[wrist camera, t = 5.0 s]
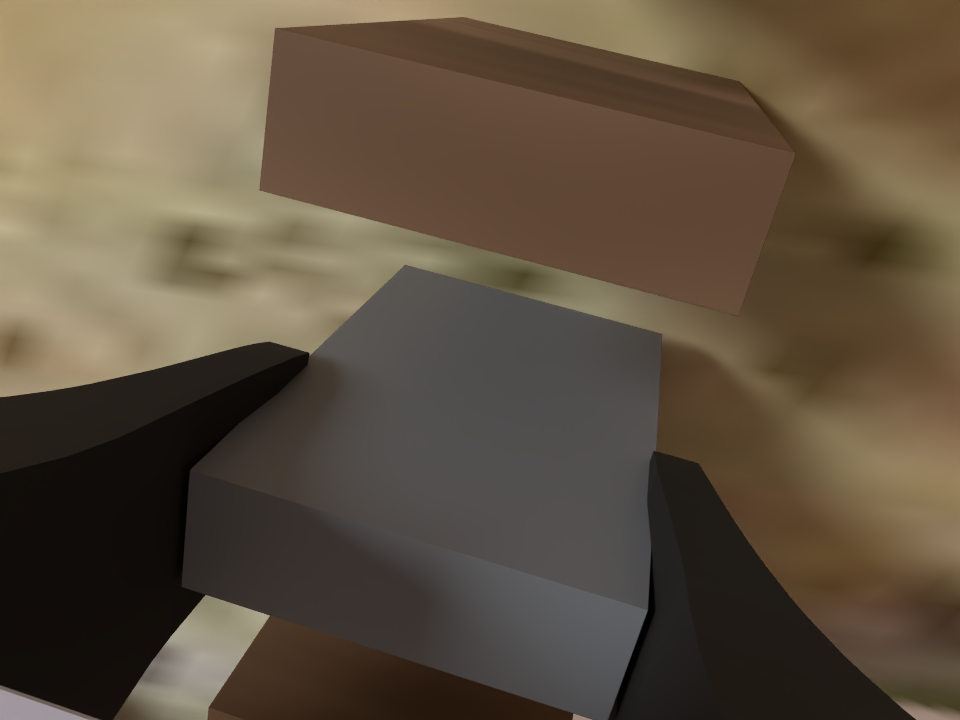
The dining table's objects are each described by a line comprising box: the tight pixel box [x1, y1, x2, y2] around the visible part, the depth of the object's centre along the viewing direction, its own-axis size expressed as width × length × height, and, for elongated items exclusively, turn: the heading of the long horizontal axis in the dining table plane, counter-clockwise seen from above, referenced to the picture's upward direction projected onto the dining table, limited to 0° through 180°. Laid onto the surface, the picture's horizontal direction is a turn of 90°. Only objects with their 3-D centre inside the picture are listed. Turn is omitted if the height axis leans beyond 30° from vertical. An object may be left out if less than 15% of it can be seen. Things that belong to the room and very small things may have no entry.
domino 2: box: [208, 616, 573, 720], centre depth 16 cm, size 2×5×8 cm, turn 78°
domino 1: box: [260, 17, 796, 316], centre depth 12 cm, size 2×5×8 cm, turn 78°
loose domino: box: [181, 265, 662, 720], centre depth 13 cm, size 2×5×8 cm, turn 79°
